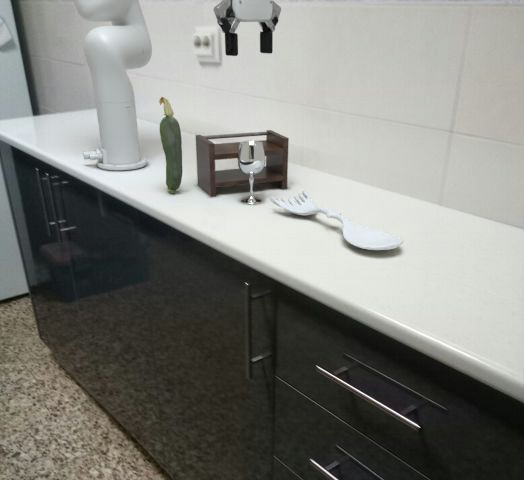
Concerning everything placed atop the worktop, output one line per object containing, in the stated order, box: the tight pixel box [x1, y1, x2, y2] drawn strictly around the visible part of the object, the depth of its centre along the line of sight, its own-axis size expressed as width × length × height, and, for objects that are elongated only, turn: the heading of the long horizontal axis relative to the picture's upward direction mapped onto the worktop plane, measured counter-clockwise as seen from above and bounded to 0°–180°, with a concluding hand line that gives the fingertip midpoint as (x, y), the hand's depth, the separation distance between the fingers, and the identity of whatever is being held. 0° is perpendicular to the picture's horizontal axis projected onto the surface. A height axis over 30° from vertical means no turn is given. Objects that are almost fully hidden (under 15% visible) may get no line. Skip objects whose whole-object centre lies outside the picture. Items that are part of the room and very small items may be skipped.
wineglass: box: [237, 140, 266, 205], centre depth 122 cm, size 6×6×12 cm
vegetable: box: [158, 96, 183, 194], centre depth 124 cm, size 4×4×20 cm
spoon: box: [269, 190, 404, 251], centre depth 109 cm, size 9×32×4 cm, turn 33°
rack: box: [194, 129, 290, 198], centre depth 132 cm, size 18×10×11 cm, turn 112°
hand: (249, 54), depth 120 cm, fingers open, 9 cm apart
